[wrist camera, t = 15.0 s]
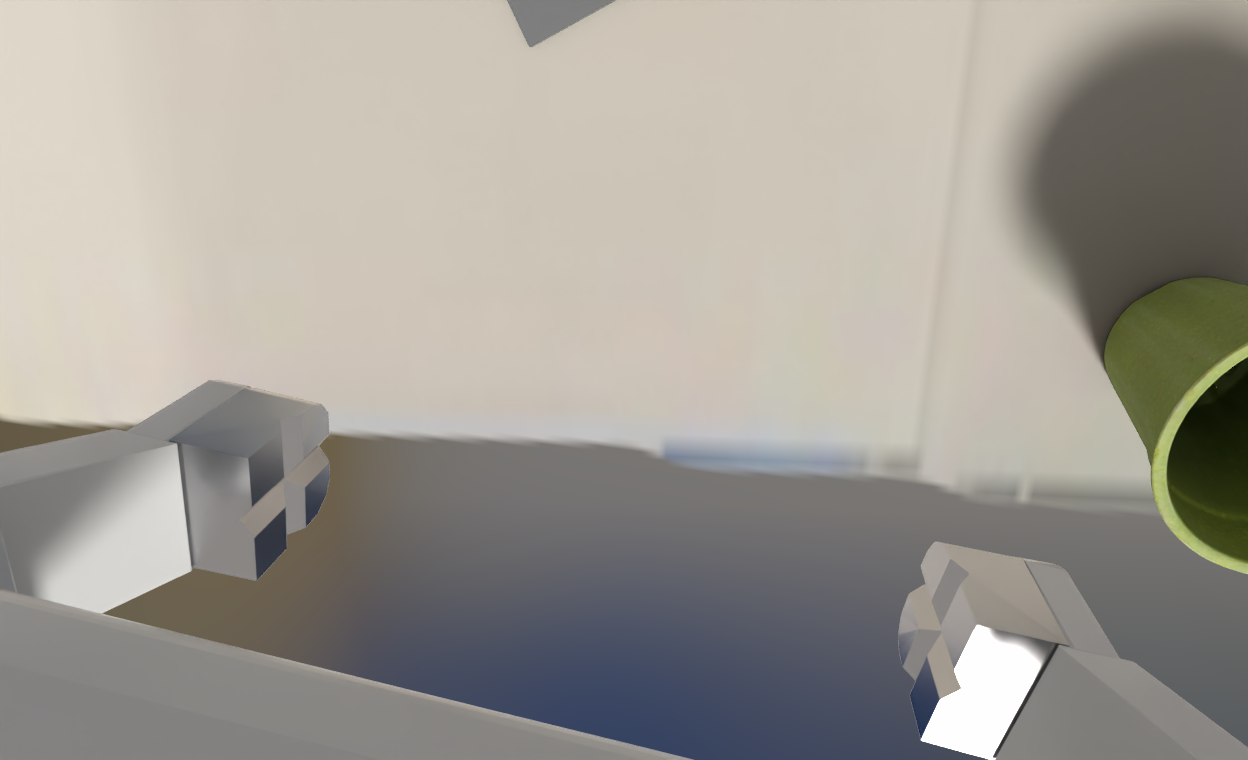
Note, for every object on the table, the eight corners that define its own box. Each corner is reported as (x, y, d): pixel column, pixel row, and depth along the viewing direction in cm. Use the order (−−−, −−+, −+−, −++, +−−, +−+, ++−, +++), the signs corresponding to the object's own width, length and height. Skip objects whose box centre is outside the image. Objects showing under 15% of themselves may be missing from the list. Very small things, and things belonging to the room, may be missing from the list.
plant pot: (1040, 265, 38) (1148, 347, 27) (1317, 202, 35) (1553, 268, 24) (1060, 464, 42) (1160, 599, 32) (1309, 423, 39) (1508, 557, 29)
